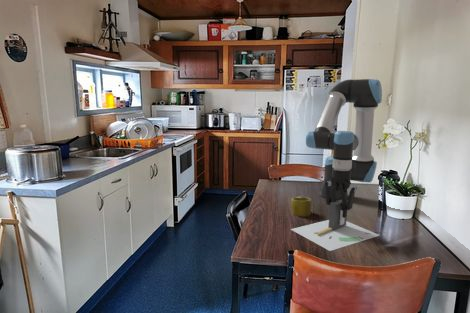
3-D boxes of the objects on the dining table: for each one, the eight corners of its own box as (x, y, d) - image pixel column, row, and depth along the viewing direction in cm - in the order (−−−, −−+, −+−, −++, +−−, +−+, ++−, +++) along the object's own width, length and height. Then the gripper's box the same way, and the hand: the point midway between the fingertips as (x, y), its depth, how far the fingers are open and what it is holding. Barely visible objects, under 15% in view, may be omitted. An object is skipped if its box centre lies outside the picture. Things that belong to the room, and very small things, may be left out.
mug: (315, 216, 148) (309, 195, 148) (293, 221, 150) (287, 200, 151) (315, 212, 159) (310, 192, 160) (295, 217, 162) (289, 197, 163)
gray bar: (340, 223, 142) (342, 199, 140) (346, 225, 140) (348, 200, 138) (314, 233, 131) (316, 207, 129) (320, 235, 129) (321, 209, 127)
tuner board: (337, 219, 150) (337, 217, 149) (379, 237, 131) (380, 234, 131) (290, 231, 136) (290, 228, 135) (329, 253, 117) (329, 250, 117)
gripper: (319, 167, 136) (316, 220, 141) (356, 173, 125) (352, 231, 130) (328, 164, 142) (324, 215, 146) (364, 170, 131) (360, 225, 135)
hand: (337, 222), depth 138 cm, fingers closed on gray bar, 3 cm apart
